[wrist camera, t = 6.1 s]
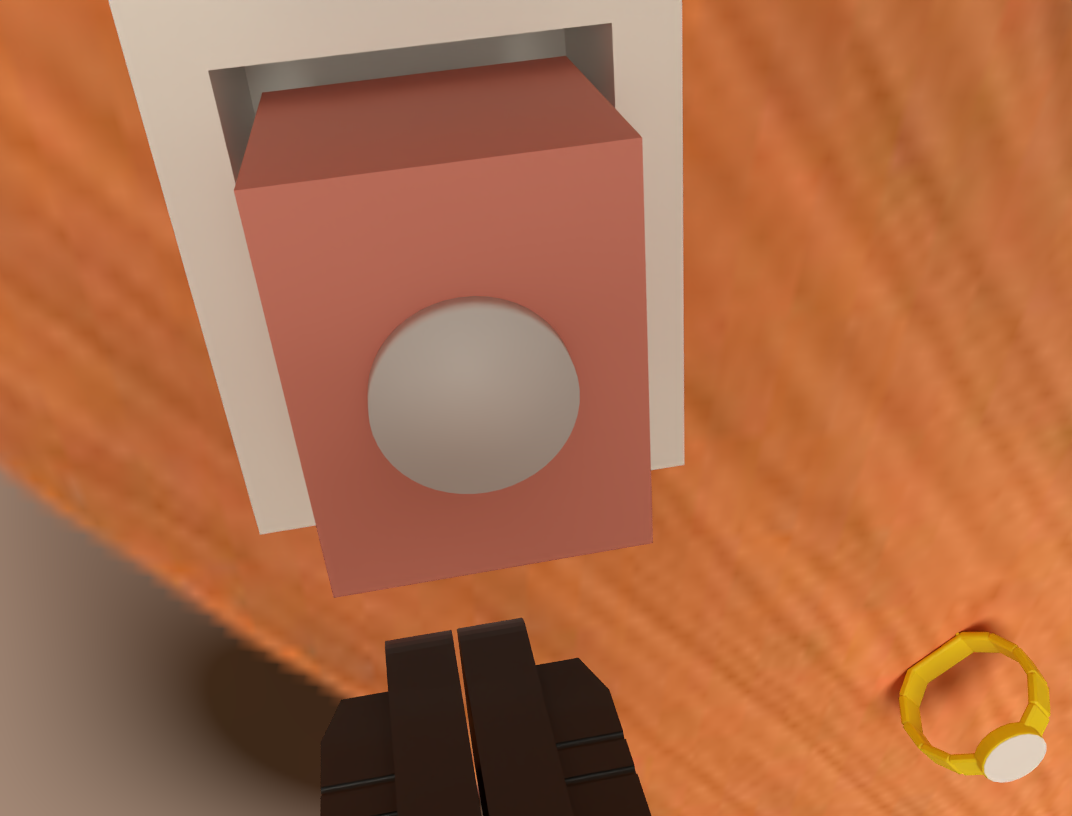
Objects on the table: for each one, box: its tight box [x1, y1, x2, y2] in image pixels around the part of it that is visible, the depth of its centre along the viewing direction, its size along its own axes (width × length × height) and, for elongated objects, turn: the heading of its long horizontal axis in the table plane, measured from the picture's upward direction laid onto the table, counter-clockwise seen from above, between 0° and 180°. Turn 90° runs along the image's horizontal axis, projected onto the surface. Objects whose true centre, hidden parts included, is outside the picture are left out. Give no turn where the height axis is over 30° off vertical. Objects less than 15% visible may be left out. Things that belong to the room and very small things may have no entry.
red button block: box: [234, 56, 653, 598], centre depth 22 cm, size 7×9×8 cm
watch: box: [898, 632, 1050, 783], centre depth 43 cm, size 6×3×6 cm, turn 132°
